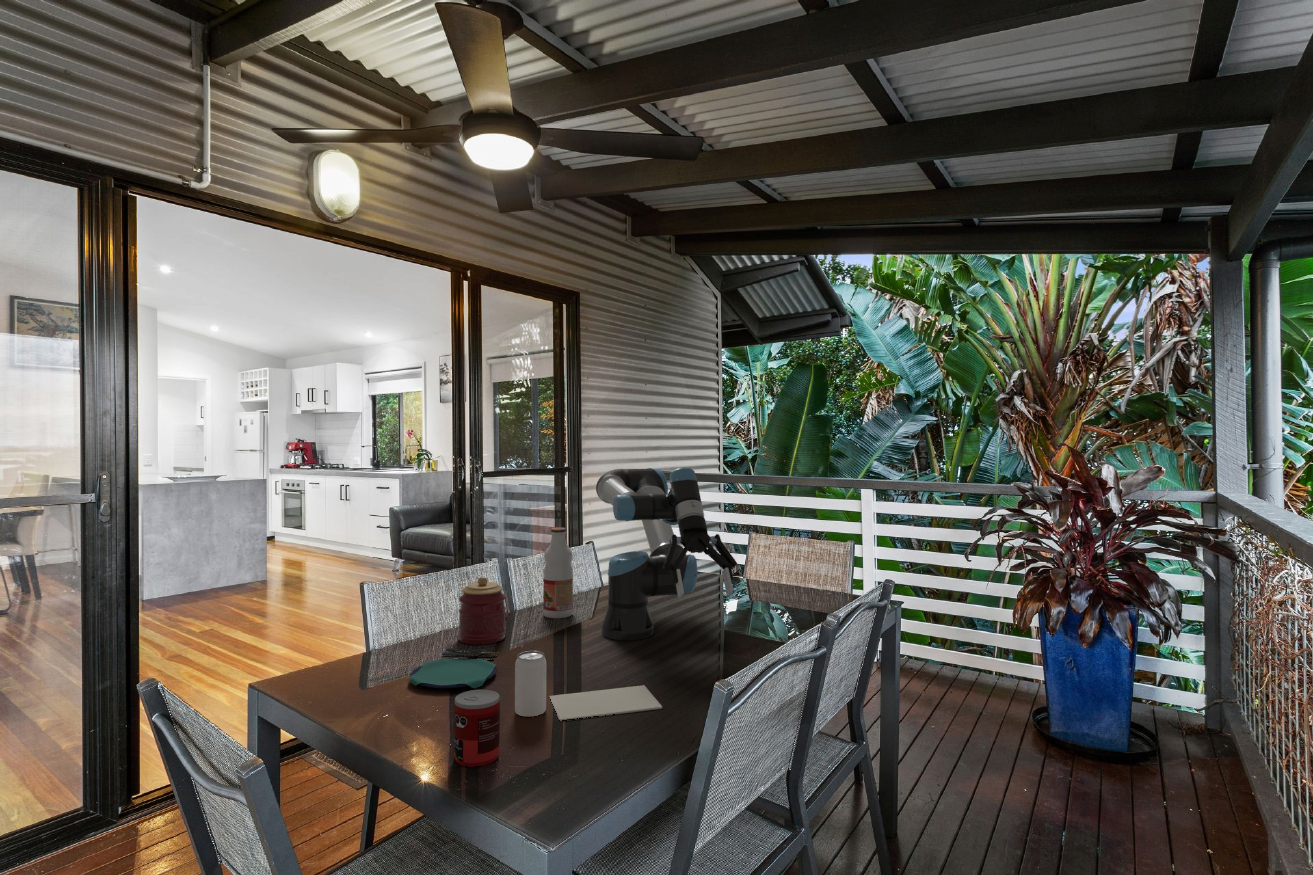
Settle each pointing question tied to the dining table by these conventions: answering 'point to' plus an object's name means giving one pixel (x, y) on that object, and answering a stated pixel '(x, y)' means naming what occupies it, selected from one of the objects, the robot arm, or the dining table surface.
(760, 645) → the dining table surface
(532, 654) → the can
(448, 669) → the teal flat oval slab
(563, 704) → the mat
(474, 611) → the canister
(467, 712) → the canned food
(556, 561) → the fruit juice
